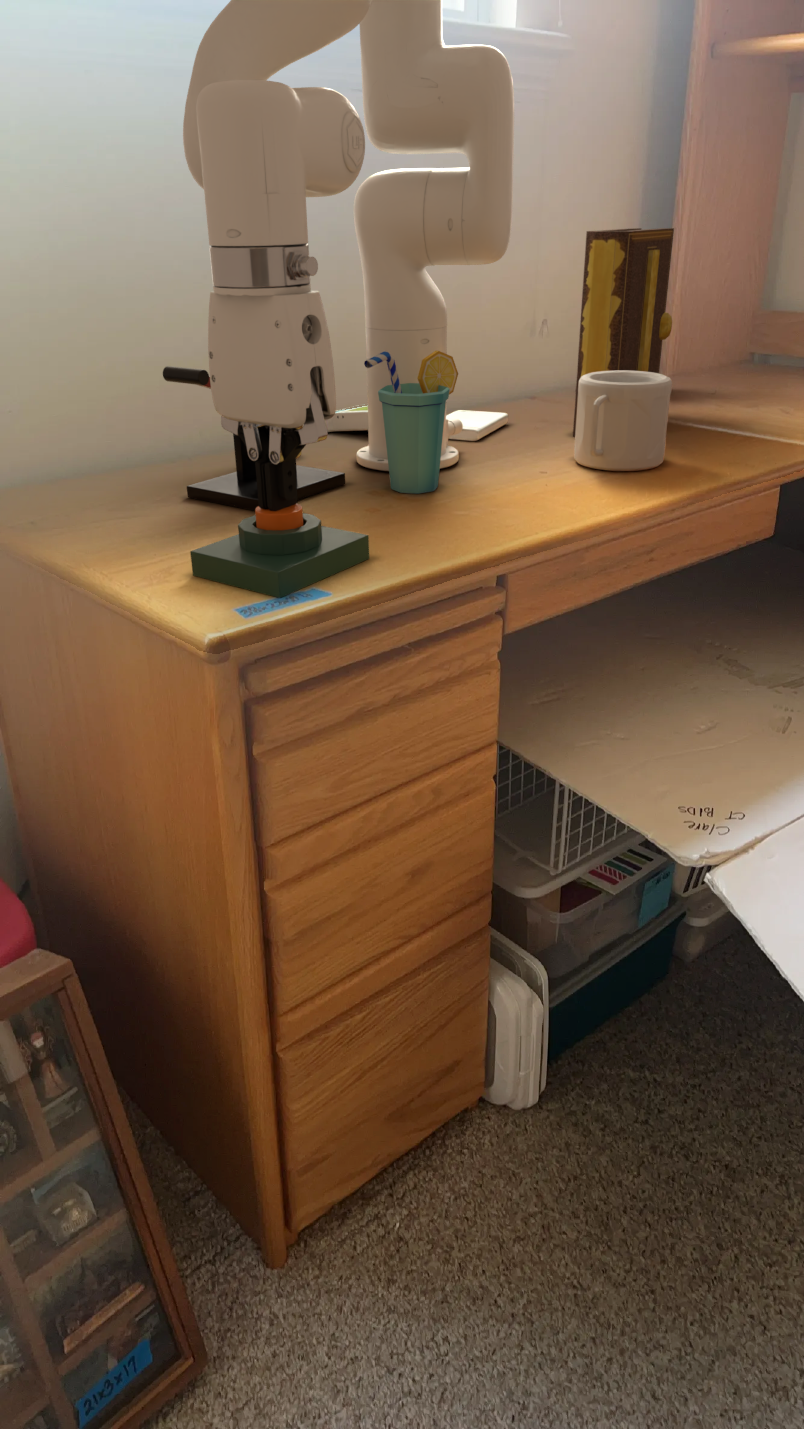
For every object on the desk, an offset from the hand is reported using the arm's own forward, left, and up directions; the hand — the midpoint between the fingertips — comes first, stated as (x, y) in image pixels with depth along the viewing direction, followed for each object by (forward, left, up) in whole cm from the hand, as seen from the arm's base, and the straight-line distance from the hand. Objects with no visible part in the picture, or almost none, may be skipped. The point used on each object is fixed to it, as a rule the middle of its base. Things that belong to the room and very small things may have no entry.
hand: (278, 505), depth 84 cm
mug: (-51, +8, -6) cm, 52 cm away
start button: (0, 0, -2) cm, 2 cm away
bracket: (-19, -19, -5) cm, 27 cm away
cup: (-28, -6, -6) cm, 29 cm away
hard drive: (-59, -18, -6) cm, 62 cm away
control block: (0, 0, -5) cm, 5 cm away
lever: (-13, -19, +5) cm, 24 cm away
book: (-74, -2, -6) cm, 74 cm away
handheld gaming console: (-47, -27, -3) cm, 54 cm away
